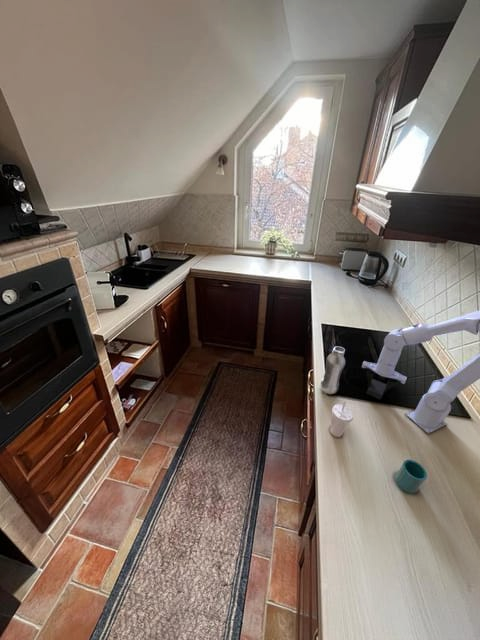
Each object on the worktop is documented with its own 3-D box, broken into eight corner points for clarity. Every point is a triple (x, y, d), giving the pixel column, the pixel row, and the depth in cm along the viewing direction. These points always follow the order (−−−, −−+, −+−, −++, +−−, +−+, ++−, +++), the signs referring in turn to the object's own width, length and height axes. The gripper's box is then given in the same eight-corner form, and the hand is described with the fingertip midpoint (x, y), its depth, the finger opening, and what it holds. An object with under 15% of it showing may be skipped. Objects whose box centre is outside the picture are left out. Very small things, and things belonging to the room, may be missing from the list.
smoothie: (342, 423, 86) (352, 394, 79) (349, 440, 81) (361, 410, 74) (323, 423, 86) (332, 394, 79) (330, 441, 80) (339, 410, 73)
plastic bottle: (337, 398, 96) (349, 356, 86) (318, 393, 98) (329, 352, 88) (337, 386, 101) (349, 346, 91) (319, 382, 103) (329, 342, 93)
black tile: (371, 382, 102) (372, 378, 101) (384, 388, 99) (386, 384, 98) (366, 393, 97) (367, 389, 96) (380, 399, 94) (382, 395, 93)
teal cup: (404, 470, 73) (412, 456, 70) (422, 488, 69) (431, 475, 65) (390, 477, 71) (398, 464, 68) (408, 497, 67) (417, 483, 64)
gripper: (412, 363, 90) (399, 390, 96) (369, 347, 97) (360, 374, 104) (409, 373, 85) (396, 402, 91) (364, 356, 92) (355, 384, 99)
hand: (376, 388), depth 97 cm, fingers closed on black tile, 5 cm apart
